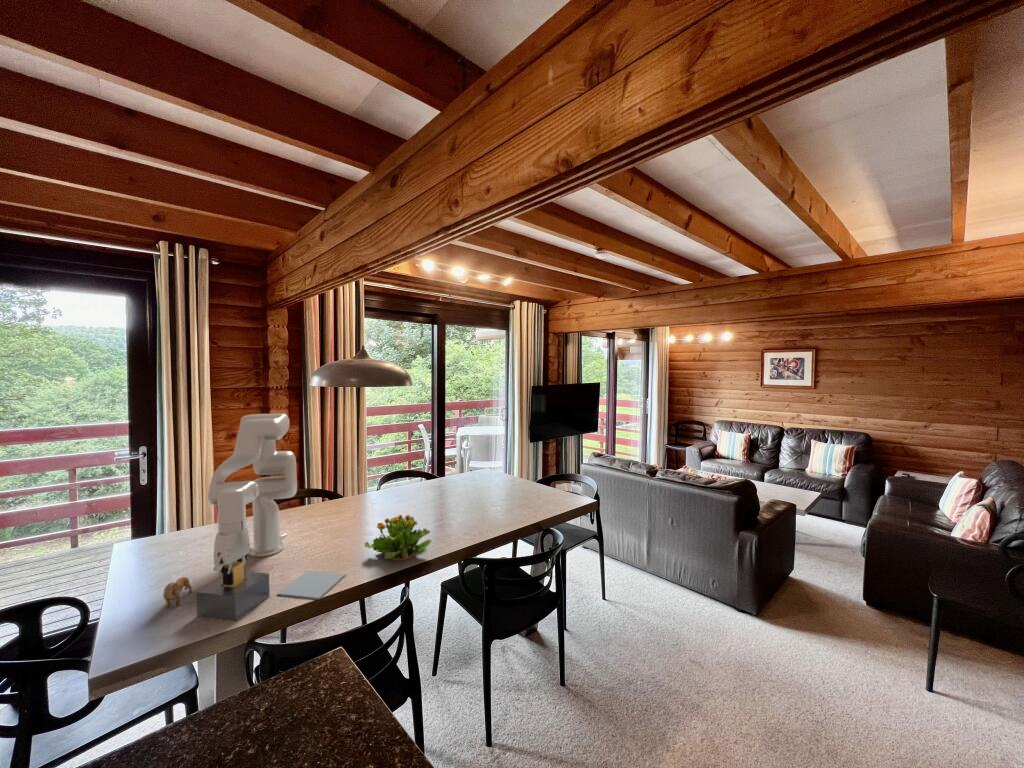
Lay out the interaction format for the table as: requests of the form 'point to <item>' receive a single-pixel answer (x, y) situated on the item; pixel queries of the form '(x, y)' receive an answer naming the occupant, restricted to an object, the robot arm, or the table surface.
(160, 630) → the table surface
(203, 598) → the hole block
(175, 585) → the brown animal figure
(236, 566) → the peg
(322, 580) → the mat
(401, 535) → the potted flower
